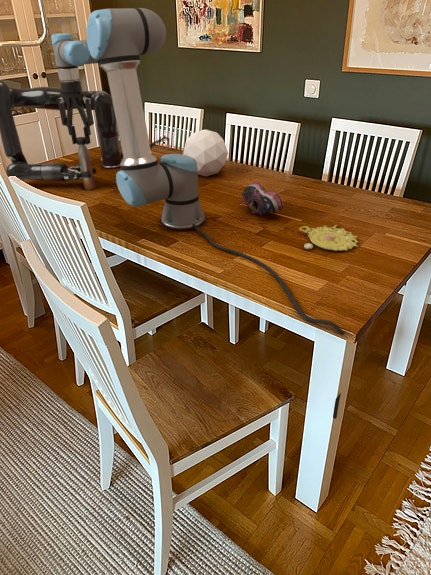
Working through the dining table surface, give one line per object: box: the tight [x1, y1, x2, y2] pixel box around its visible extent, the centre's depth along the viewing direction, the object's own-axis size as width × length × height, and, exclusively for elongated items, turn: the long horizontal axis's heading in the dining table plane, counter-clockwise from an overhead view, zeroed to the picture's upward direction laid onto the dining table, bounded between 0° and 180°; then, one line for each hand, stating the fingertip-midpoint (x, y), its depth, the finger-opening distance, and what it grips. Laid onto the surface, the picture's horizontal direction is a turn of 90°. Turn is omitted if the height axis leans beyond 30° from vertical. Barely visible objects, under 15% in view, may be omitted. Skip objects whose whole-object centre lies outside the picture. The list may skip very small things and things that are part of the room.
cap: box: [76, 136, 86, 146], centre depth 178 cm, size 4×4×2 cm
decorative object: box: [299, 224, 359, 252], centre depth 141 cm, size 21×2×20 cm
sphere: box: [182, 128, 229, 177], centre depth 194 cm, size 19×20×20 cm
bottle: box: [77, 144, 96, 191], centre depth 183 cm, size 5×5×20 cm
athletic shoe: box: [238, 182, 284, 217], centre depth 160 cm, size 11×22×12 cm
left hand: (93, 172), depth 185 cm, fingers closed on bottle, 4 cm apart
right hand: (81, 143), depth 179 cm, fingers open, 5 cm apart
